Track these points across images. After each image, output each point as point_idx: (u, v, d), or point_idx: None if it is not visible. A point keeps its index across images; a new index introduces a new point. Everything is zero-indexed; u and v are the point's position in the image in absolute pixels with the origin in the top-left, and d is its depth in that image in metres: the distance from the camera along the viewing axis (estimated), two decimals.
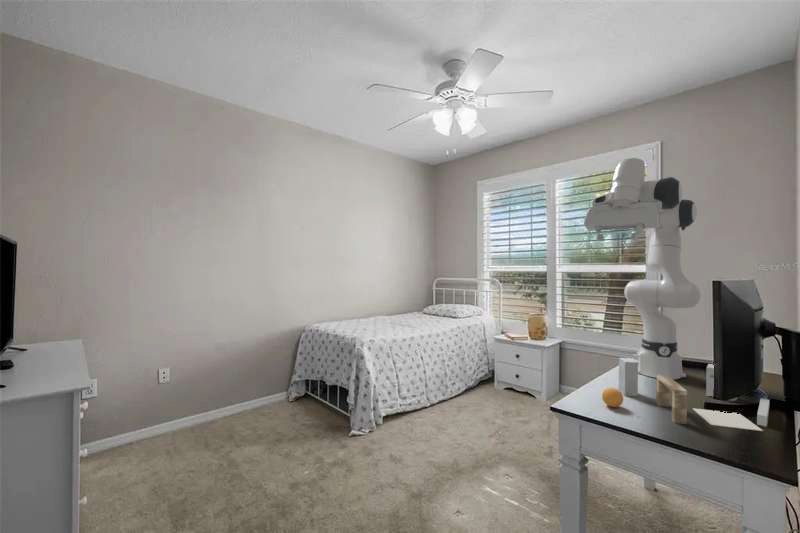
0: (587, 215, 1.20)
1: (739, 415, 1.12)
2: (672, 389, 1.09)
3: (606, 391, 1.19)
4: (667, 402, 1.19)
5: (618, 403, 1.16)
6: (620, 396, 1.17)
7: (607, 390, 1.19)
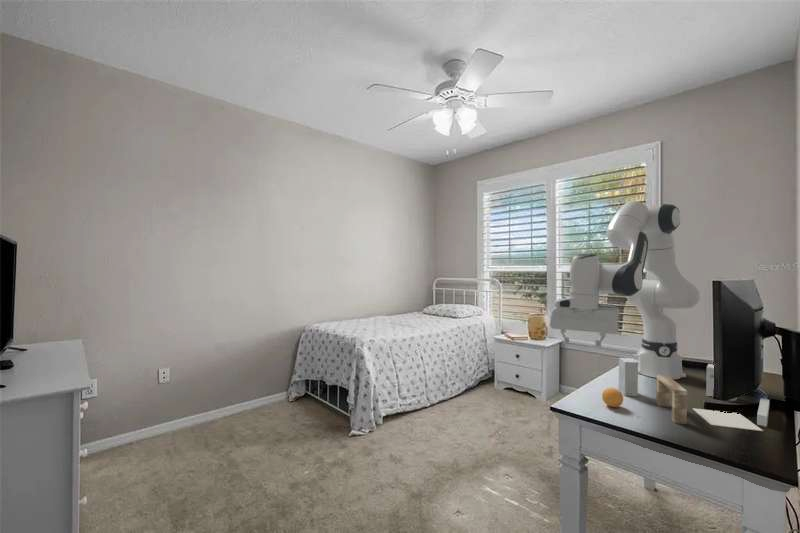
0: (553, 318, 1.22)
1: (739, 415, 1.12)
2: (672, 389, 1.09)
3: (606, 391, 1.19)
4: (667, 402, 1.19)
5: (618, 403, 1.16)
6: (620, 396, 1.17)
7: (607, 390, 1.19)
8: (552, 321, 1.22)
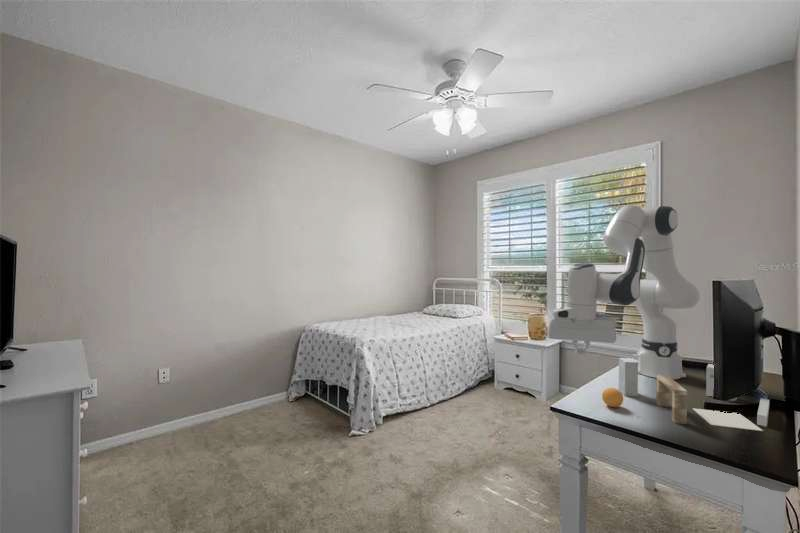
0: (551, 328, 1.22)
1: (739, 415, 1.12)
2: (672, 389, 1.09)
3: (606, 391, 1.19)
4: (667, 402, 1.19)
5: (618, 403, 1.16)
6: (620, 396, 1.17)
7: (607, 390, 1.19)
8: (551, 331, 1.23)
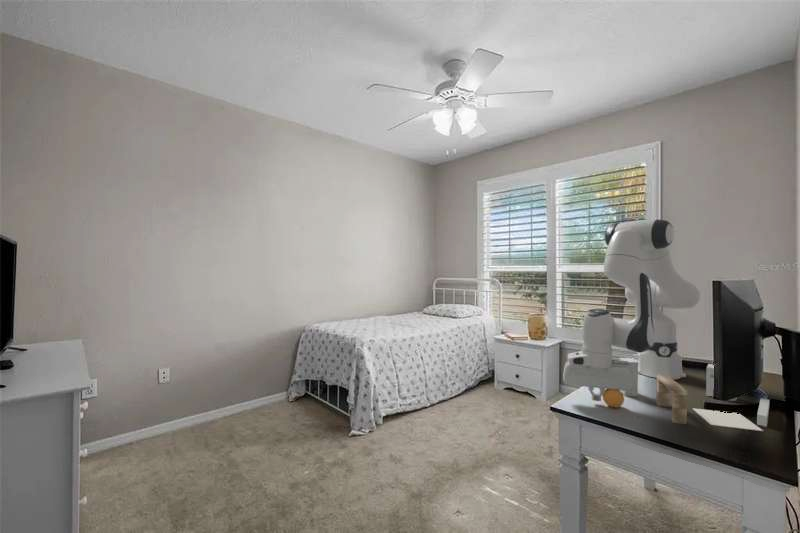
0: (566, 374, 1.22)
1: (739, 415, 1.12)
2: (672, 389, 1.09)
3: (608, 391, 1.19)
4: (667, 402, 1.19)
5: (619, 403, 1.16)
6: (621, 397, 1.17)
7: (608, 390, 1.19)
8: (566, 377, 1.22)
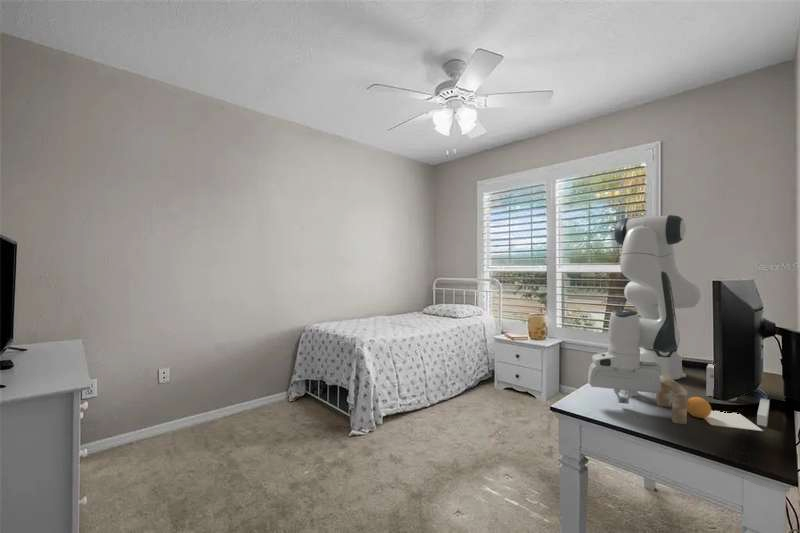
0: (592, 376, 1.19)
1: (739, 415, 1.12)
2: (672, 389, 1.09)
3: (698, 399, 1.10)
4: (667, 402, 1.19)
5: (704, 415, 1.09)
6: (710, 410, 1.09)
7: (699, 399, 1.10)
8: (592, 379, 1.19)
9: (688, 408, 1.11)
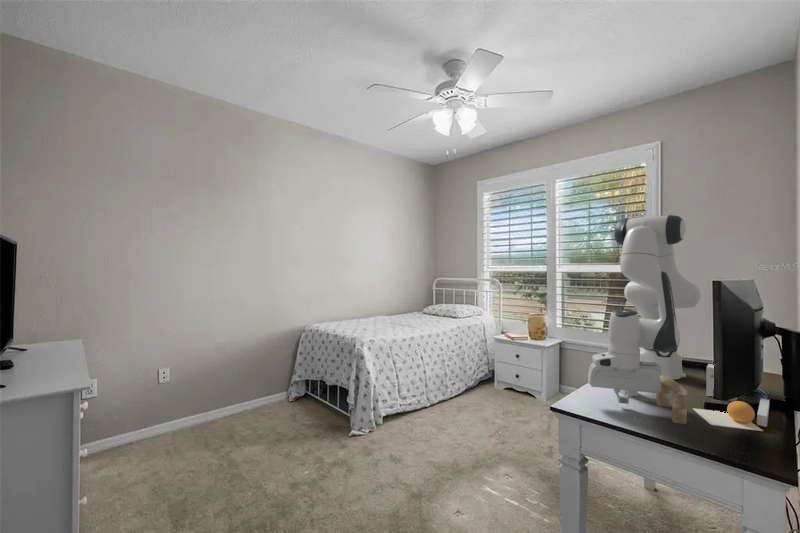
0: (592, 376, 1.19)
1: None
2: (672, 389, 1.09)
3: None
4: (667, 402, 1.19)
5: (744, 408, 1.06)
6: (734, 409, 1.07)
7: (738, 421, 1.07)
8: (592, 379, 1.19)
9: (754, 416, 1.06)
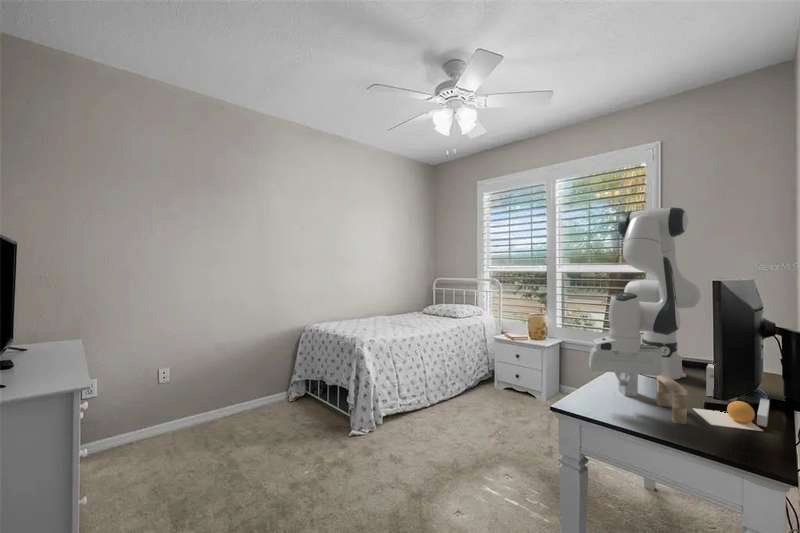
0: (593, 360, 1.19)
1: None
2: (672, 389, 1.09)
3: None
4: (667, 402, 1.19)
5: (744, 408, 1.06)
6: (734, 409, 1.07)
7: (738, 421, 1.07)
8: (593, 363, 1.19)
9: (754, 416, 1.06)
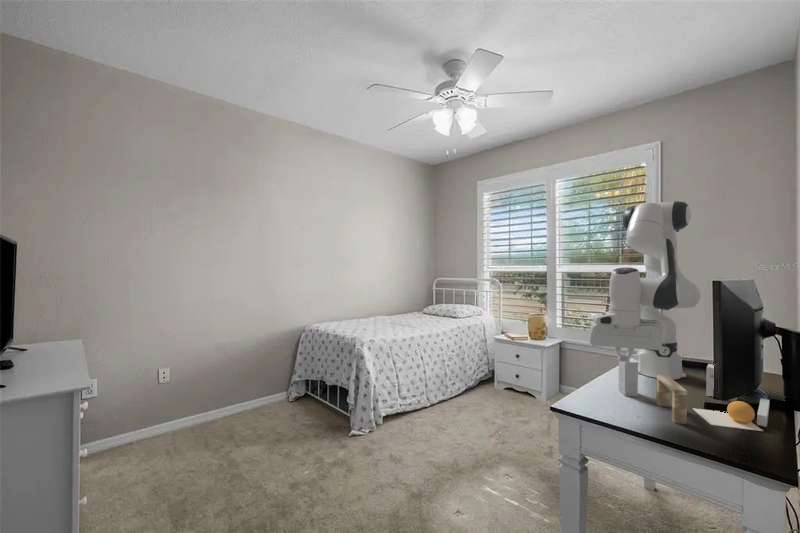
0: (593, 335, 1.19)
1: None
2: (672, 389, 1.09)
3: None
4: (667, 402, 1.19)
5: (744, 408, 1.06)
6: (734, 409, 1.07)
7: (738, 421, 1.07)
8: (592, 338, 1.19)
9: (754, 416, 1.06)
